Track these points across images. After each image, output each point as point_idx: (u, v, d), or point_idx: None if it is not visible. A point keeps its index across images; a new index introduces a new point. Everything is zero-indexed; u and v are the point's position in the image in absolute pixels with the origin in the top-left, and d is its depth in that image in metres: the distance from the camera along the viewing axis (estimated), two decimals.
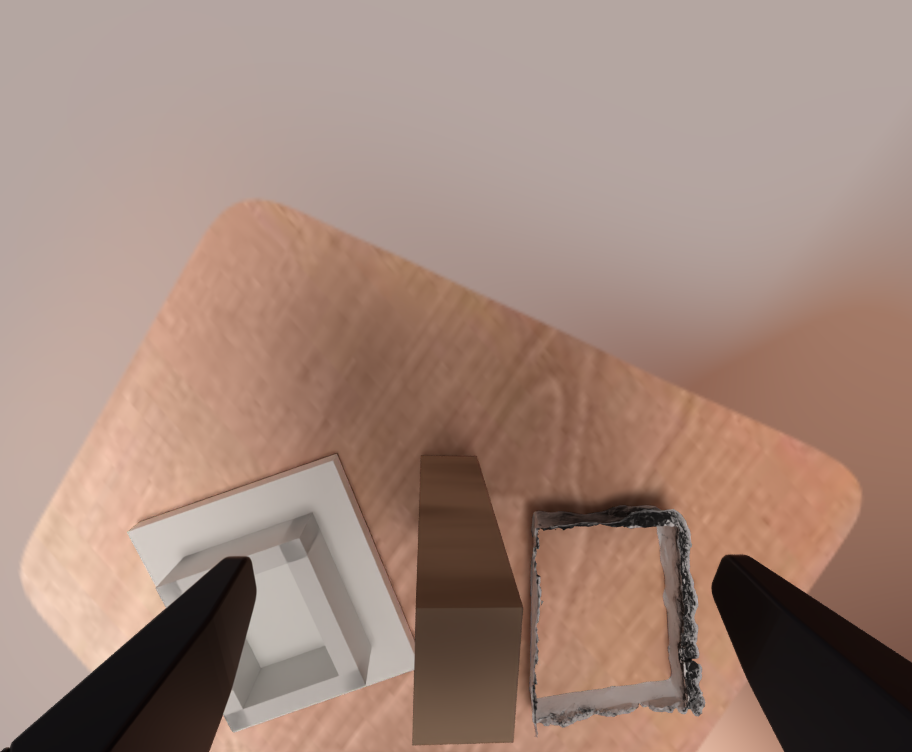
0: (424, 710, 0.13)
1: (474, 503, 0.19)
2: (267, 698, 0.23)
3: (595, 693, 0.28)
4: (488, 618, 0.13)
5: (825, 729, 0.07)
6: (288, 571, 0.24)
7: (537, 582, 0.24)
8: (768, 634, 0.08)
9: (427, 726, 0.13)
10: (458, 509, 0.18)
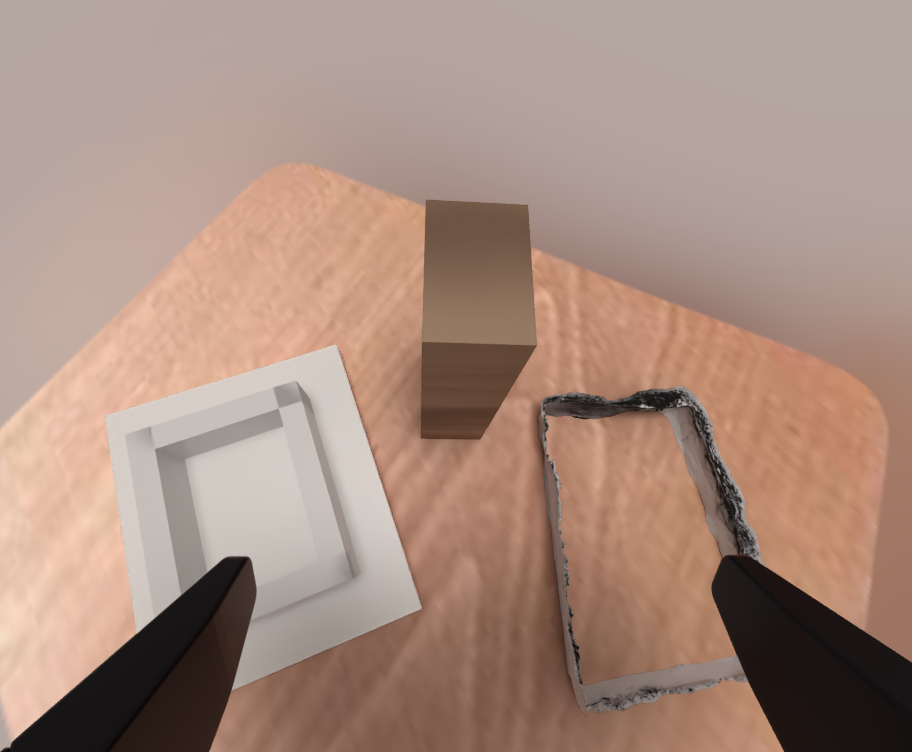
0: (435, 300, 0.12)
1: None
2: None
3: (659, 673, 0.20)
4: (496, 212, 0.13)
5: (825, 730, 0.07)
6: (272, 466, 0.21)
7: (552, 467, 0.21)
8: (768, 634, 0.08)
9: (438, 319, 0.12)
10: None
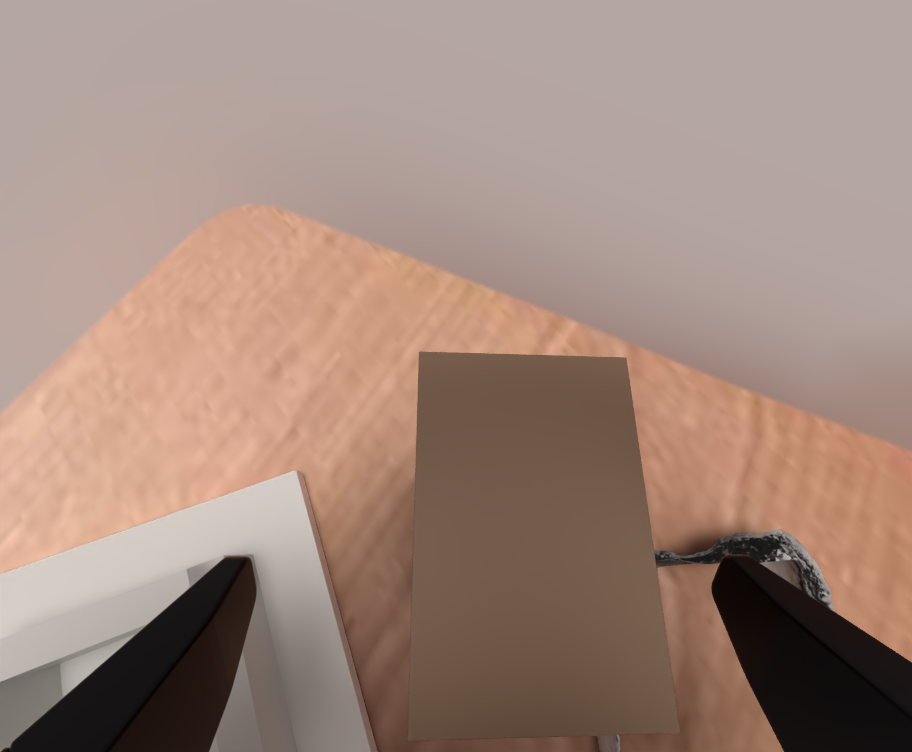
0: (441, 612, 0.05)
1: None
2: None
3: None
4: (563, 376, 0.06)
5: (825, 729, 0.07)
6: None
7: None
8: (768, 634, 0.08)
9: (447, 669, 0.05)
10: None
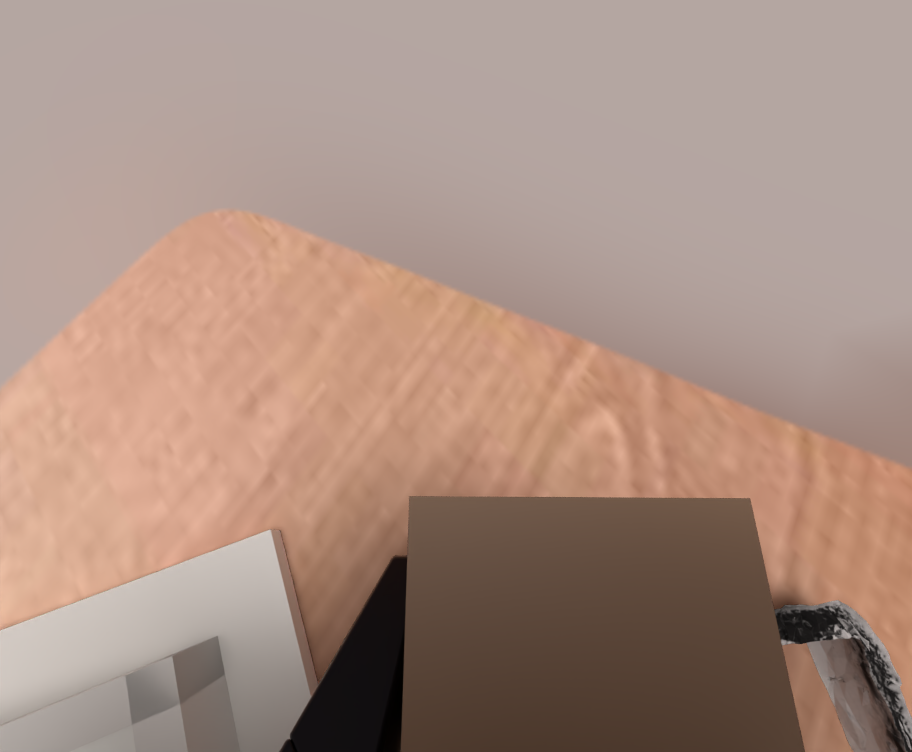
0: None
1: None
2: None
3: None
4: (649, 536, 0.04)
5: None
6: None
7: None
8: None
9: None
10: None
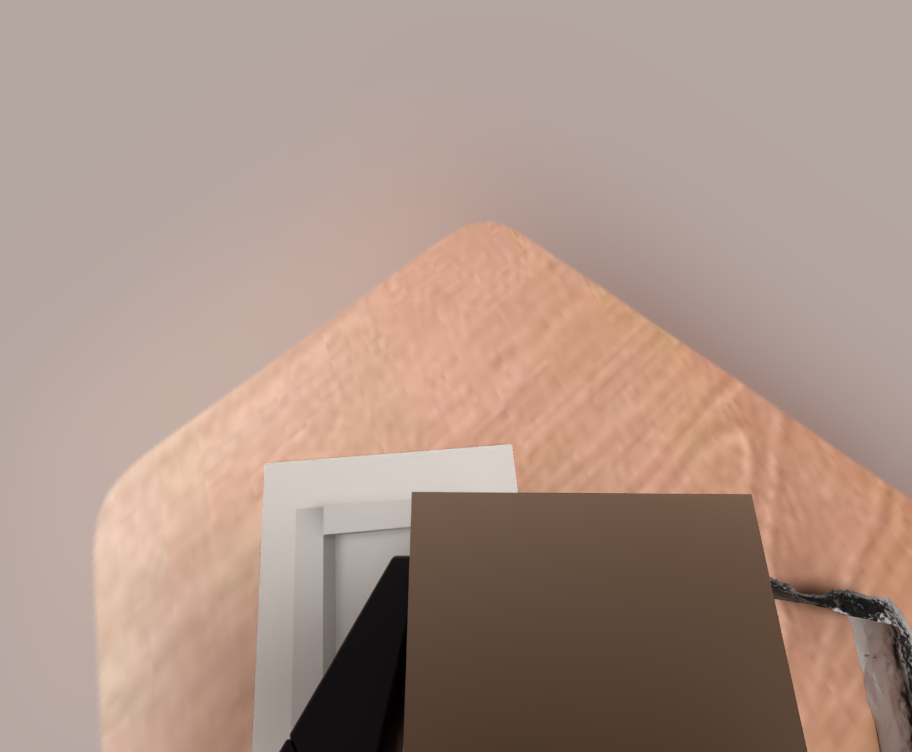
0: None
1: None
2: None
3: None
4: (651, 532, 0.04)
5: None
6: None
7: None
8: None
9: None
10: None
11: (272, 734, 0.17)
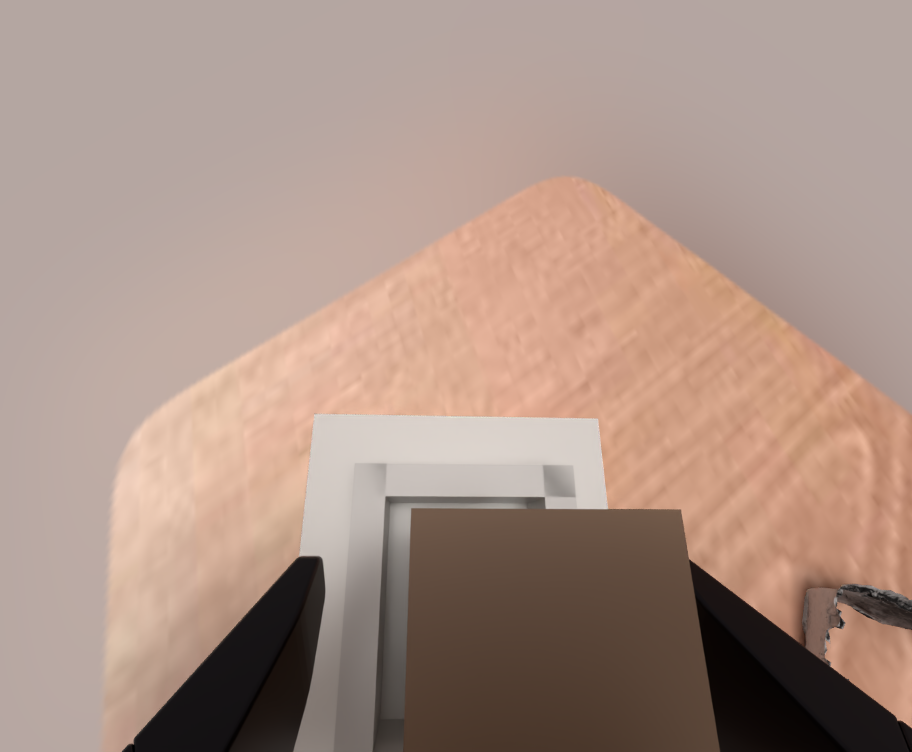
0: None
1: None
2: None
3: None
4: (599, 540, 0.05)
5: (745, 731, 0.07)
6: None
7: None
8: None
9: None
10: None
11: (303, 731, 0.14)
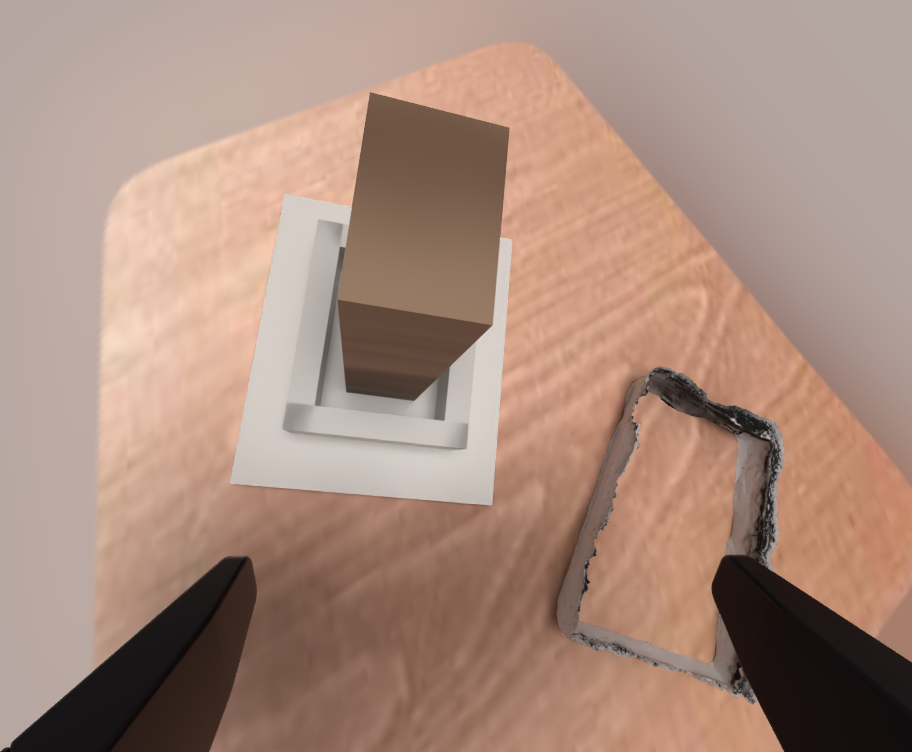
0: (364, 243, 0.09)
1: None
2: None
3: (630, 640, 0.22)
4: (464, 130, 0.10)
5: (825, 730, 0.07)
6: None
7: (636, 428, 0.22)
8: (768, 634, 0.08)
9: (365, 271, 0.09)
10: None
11: (261, 411, 0.19)
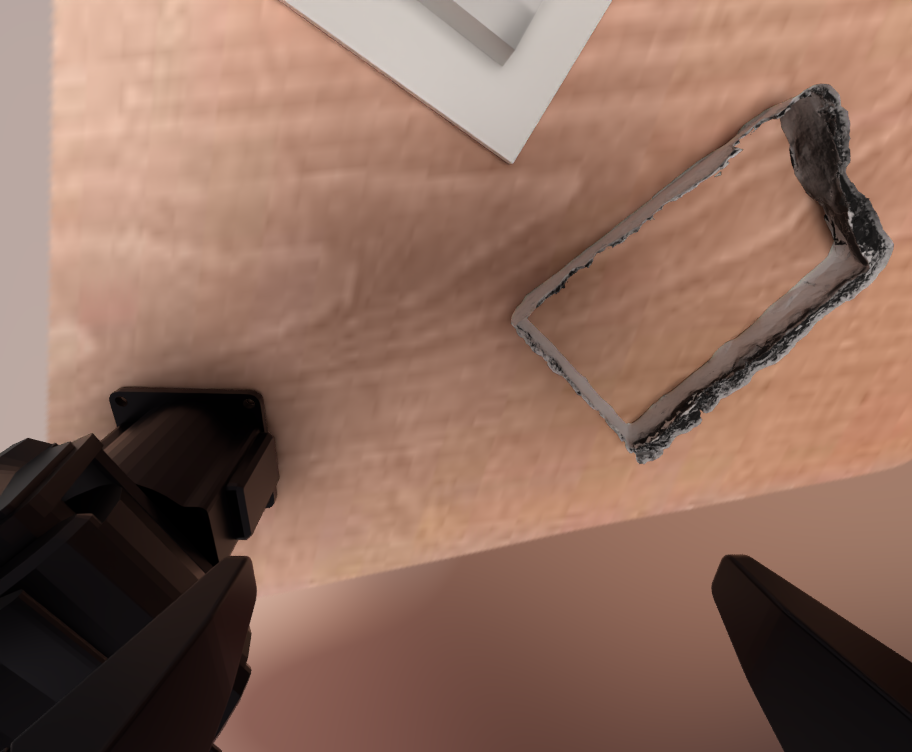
0: None
1: None
2: None
3: (570, 366, 0.21)
4: None
5: (825, 729, 0.07)
6: None
7: (732, 153, 0.16)
8: (768, 634, 0.08)
9: None
10: None
11: None
